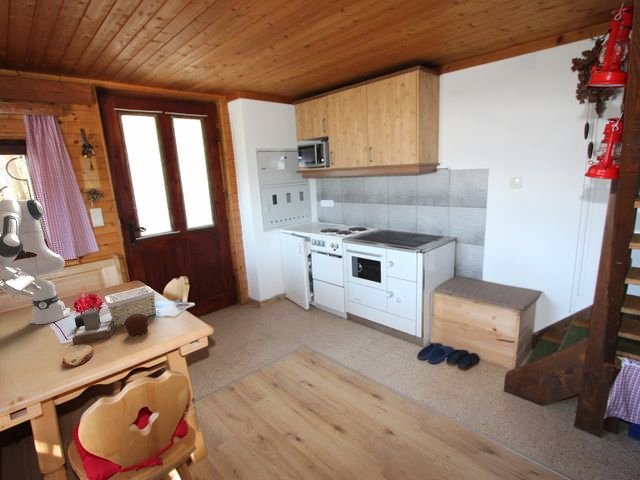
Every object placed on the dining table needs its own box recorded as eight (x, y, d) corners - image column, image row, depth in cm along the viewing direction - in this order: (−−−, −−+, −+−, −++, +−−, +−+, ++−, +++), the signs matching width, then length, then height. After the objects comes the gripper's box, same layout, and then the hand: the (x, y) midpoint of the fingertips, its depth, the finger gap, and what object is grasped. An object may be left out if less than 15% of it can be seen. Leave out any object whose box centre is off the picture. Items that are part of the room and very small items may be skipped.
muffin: (122, 339, 171) (118, 321, 169) (130, 329, 182) (127, 312, 180) (146, 336, 173) (143, 318, 171) (153, 326, 183) (150, 309, 181)
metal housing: (87, 327, 177) (84, 311, 175) (101, 324, 179) (97, 308, 177) (85, 331, 172) (82, 314, 170) (99, 328, 174) (95, 312, 173)
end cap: (76, 330, 185) (74, 319, 183) (77, 326, 190) (74, 315, 189) (98, 325, 190) (96, 314, 189) (98, 321, 196) (95, 310, 194)
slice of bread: (77, 347, 167) (75, 340, 166) (108, 348, 163) (107, 341, 162) (42, 367, 149) (40, 360, 149) (76, 369, 146) (74, 362, 145)
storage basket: (113, 327, 185) (107, 302, 182) (108, 319, 198) (103, 295, 195) (159, 314, 200) (154, 290, 197) (152, 307, 212) (148, 284, 209)
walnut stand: (80, 334, 180) (79, 326, 179) (114, 327, 186) (113, 319, 185) (73, 345, 167) (71, 337, 166) (110, 337, 173) (108, 329, 172)
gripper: (1, 278, 150) (33, 294, 156) (19, 266, 169) (47, 281, 174) (-10, 289, 149) (23, 305, 155) (10, 276, 168) (38, 291, 174)
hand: (36, 292), depth 165 cm, fingers open, 8 cm apart
